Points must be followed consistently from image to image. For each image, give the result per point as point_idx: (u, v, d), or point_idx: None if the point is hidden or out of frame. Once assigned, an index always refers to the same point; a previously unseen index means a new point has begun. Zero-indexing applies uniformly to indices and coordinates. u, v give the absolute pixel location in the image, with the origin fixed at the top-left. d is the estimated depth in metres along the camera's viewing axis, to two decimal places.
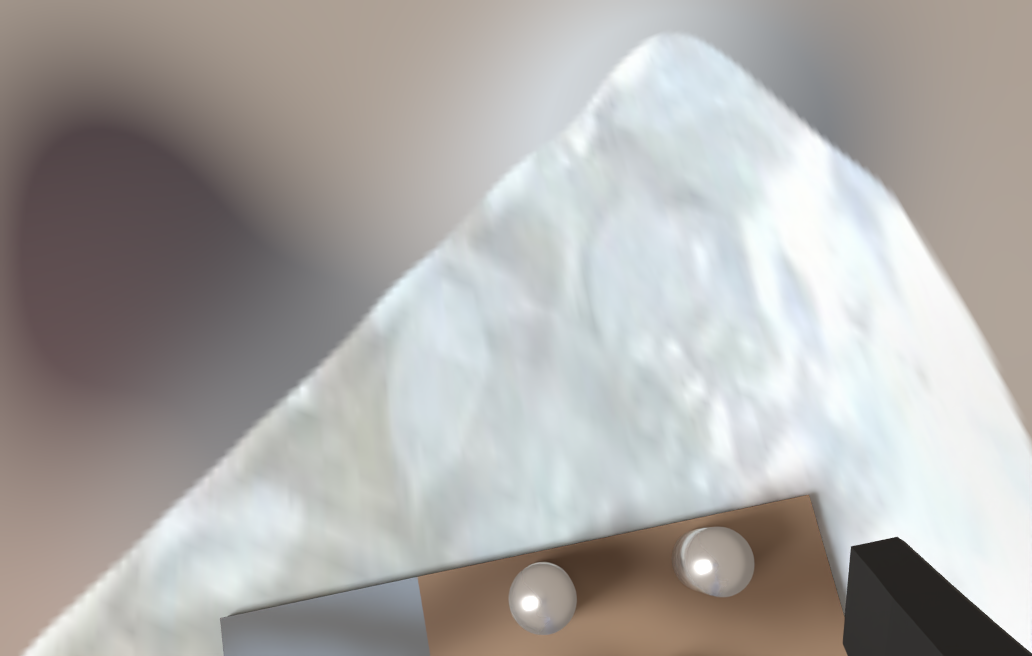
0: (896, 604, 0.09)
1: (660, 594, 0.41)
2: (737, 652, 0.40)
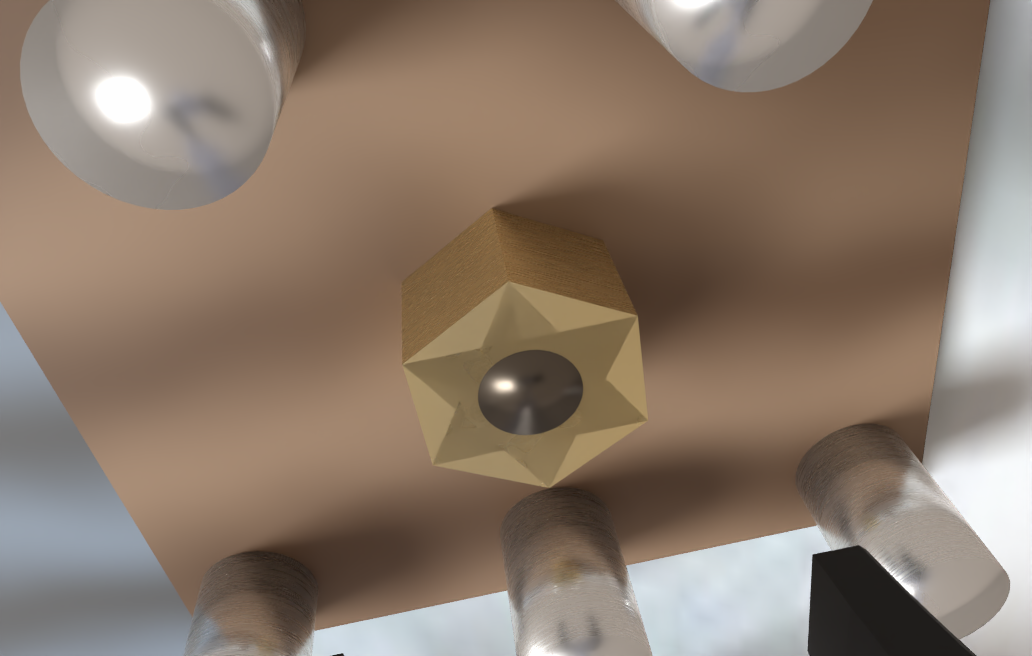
0: (854, 613, 0.09)
1: (545, 24, 0.15)
2: (713, 161, 0.17)
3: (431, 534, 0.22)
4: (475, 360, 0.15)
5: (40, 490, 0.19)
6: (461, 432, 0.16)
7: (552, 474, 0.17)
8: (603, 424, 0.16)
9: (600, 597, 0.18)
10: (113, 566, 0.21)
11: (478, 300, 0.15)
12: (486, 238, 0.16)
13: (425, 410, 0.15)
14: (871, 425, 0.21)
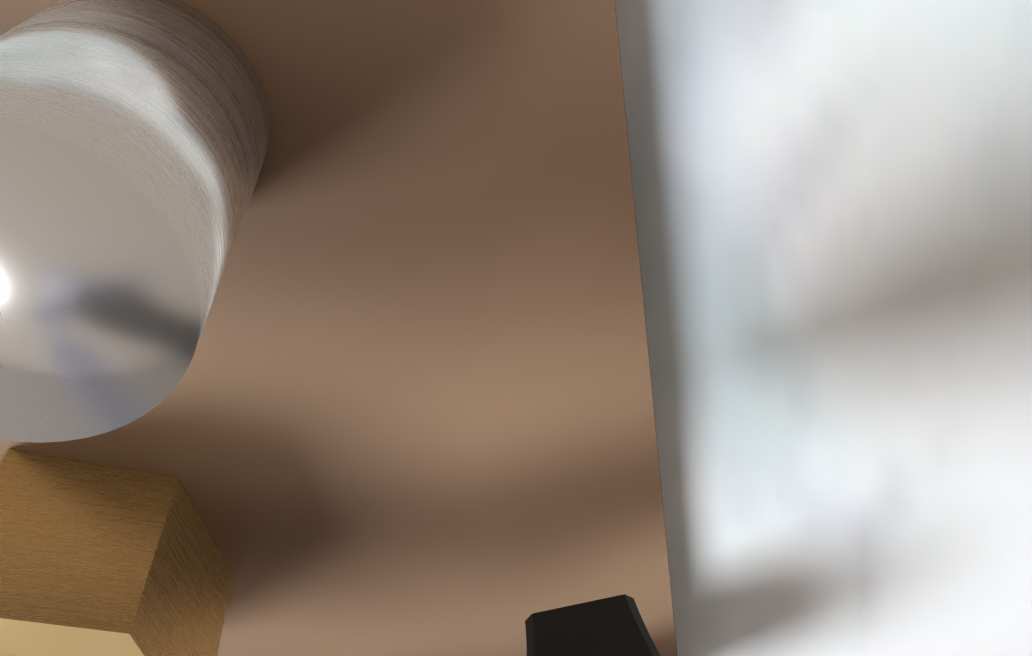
0: None
1: None
2: (301, 385, 0.13)
3: None
4: None
5: None
6: None
7: None
8: None
9: None
10: None
11: None
12: None
13: None
14: None
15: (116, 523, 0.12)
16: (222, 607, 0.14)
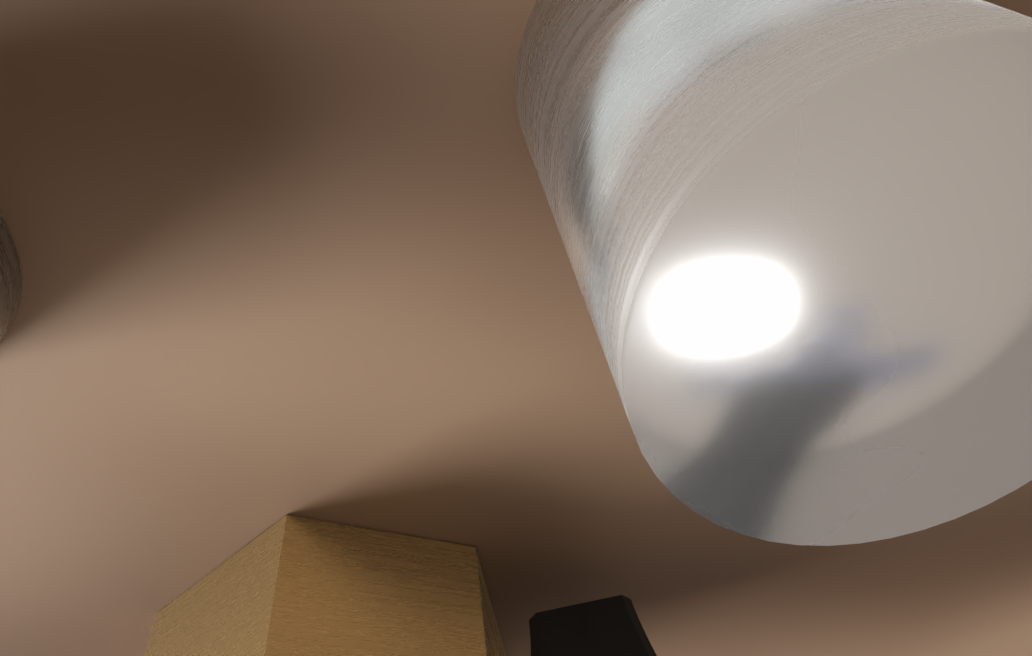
0: None
1: (451, 238, 0.09)
2: None
3: None
4: None
5: None
6: None
7: None
8: None
9: None
10: None
11: None
12: (260, 590, 0.10)
13: None
14: None
15: (431, 611, 0.10)
16: None
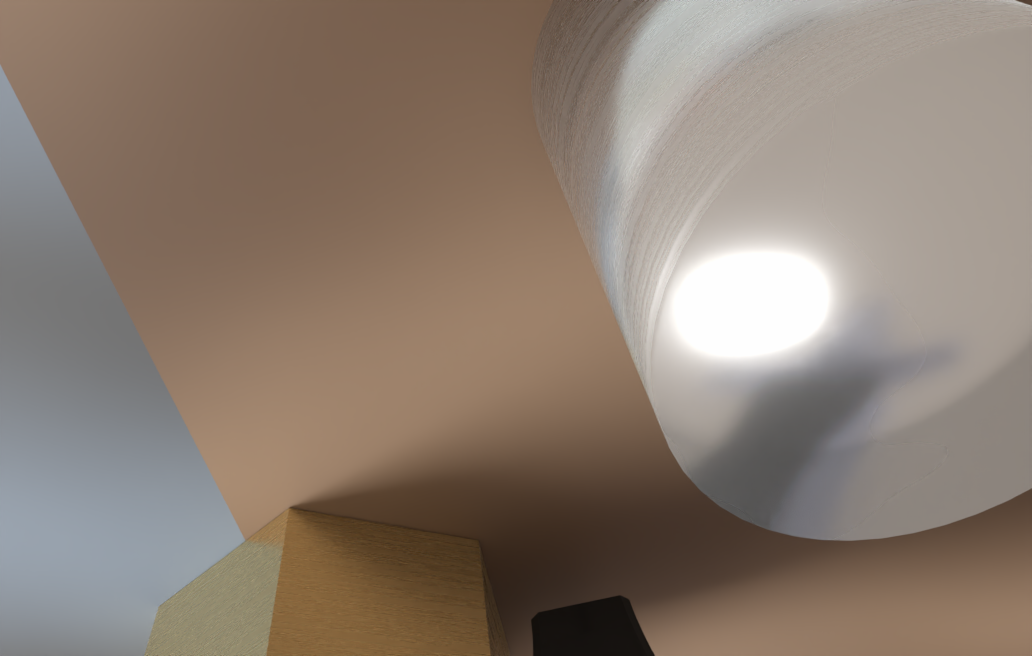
0: None
1: None
2: None
3: None
4: None
5: None
6: None
7: None
8: None
9: None
10: None
11: None
12: (263, 583, 0.10)
13: None
14: None
15: (434, 604, 0.10)
16: None
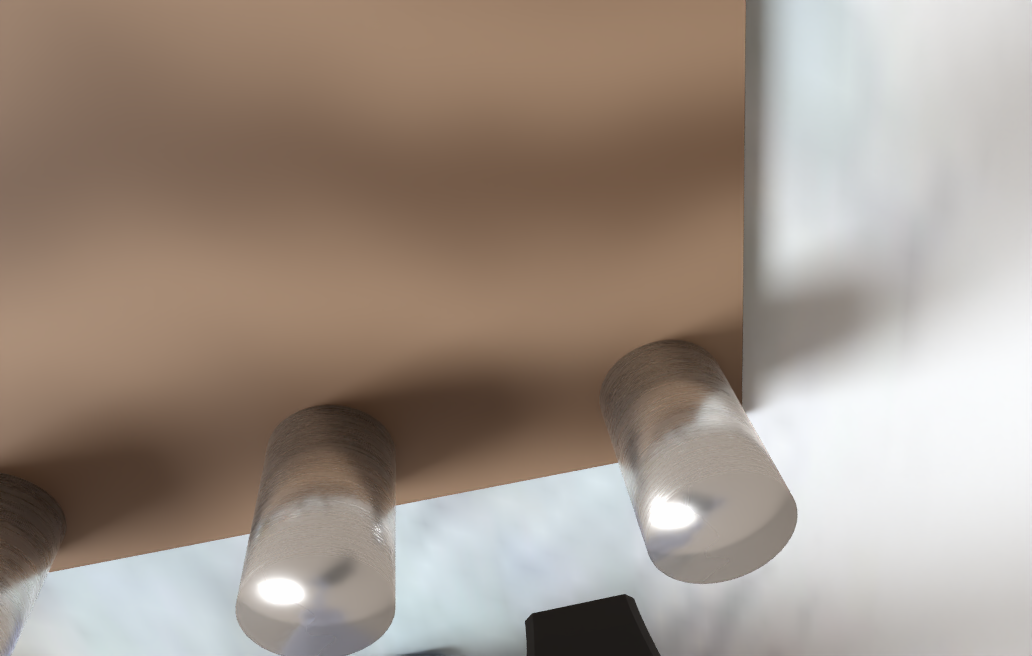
0: None
1: None
2: (444, 6, 0.15)
3: (187, 457, 0.19)
4: None
5: None
6: None
7: None
8: None
9: (334, 516, 0.16)
10: None
11: None
12: None
13: None
14: (678, 342, 0.19)
15: None
16: None
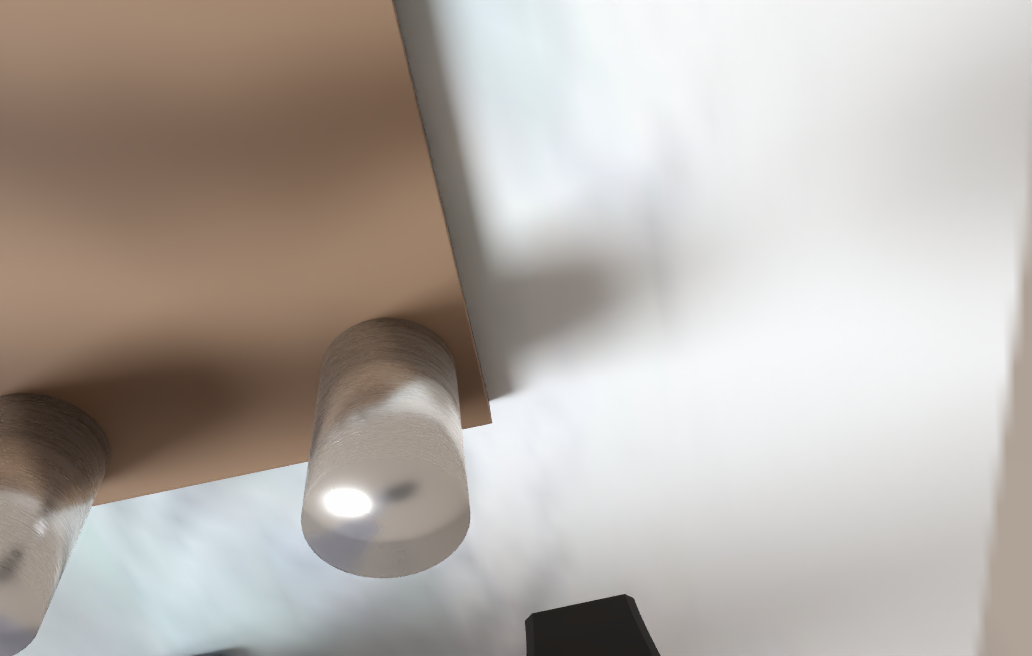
0: None
1: None
2: None
3: None
4: None
5: None
6: None
7: None
8: None
9: None
10: None
11: None
12: None
13: None
14: (395, 320, 0.18)
15: None
16: None
